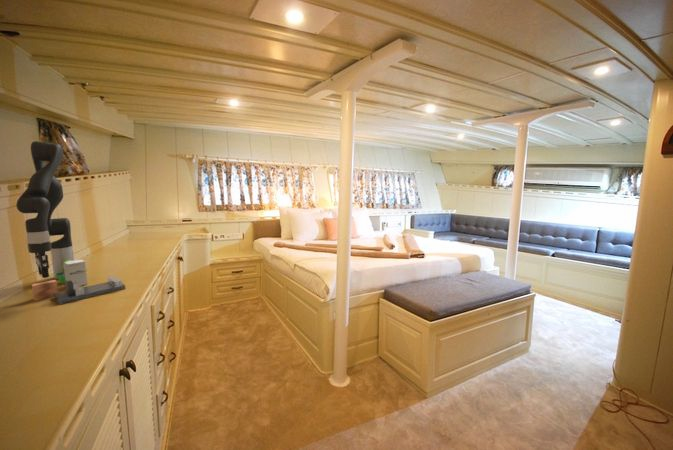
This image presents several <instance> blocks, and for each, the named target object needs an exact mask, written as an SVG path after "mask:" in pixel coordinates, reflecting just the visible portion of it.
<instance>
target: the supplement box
mask: <svg viewBox="0 0 673 450" xmlns="http://www.w3.org/2000/svg"><path fill="white" fill-rule="evenodd" d="M63 263H64V271H65V279H66V281H71V282H73V284H77V283H78V284H79V285H80V286H81V287H82V286H86V285H87V286H88V277H87V271H86V270H87V267H86V261H85V260H84V259H74V261H67V262H63Z"/></svg>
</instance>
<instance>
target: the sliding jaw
mask: <svg viewBox="0 0 673 450" xmlns="http://www.w3.org/2000/svg"><path fill="white" fill-rule="evenodd" d="M64 287H65V291H66V293H67V294H68V295H72V294H75V295H76V296H78V295H82V294H84V289H83V288H82V286H80V285H79V284H78V283H77V284H73V282H71V281H65V284H64Z"/></svg>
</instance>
